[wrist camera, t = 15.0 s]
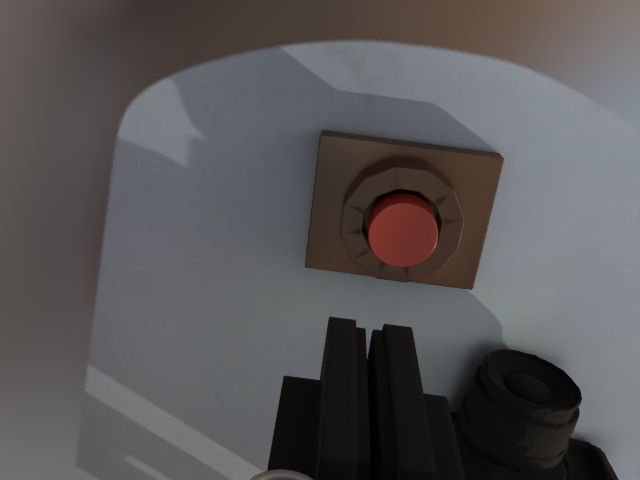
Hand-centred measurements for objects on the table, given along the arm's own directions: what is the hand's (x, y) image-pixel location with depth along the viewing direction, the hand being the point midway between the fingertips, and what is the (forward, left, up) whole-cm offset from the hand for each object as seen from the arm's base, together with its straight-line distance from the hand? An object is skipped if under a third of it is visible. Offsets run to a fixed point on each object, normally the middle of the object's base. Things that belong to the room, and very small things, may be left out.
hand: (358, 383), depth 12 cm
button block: (+4, -3, -23) cm, 24 cm away
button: (+4, -3, -21) cm, 21 cm away
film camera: (+17, -12, -23) cm, 31 cm away
